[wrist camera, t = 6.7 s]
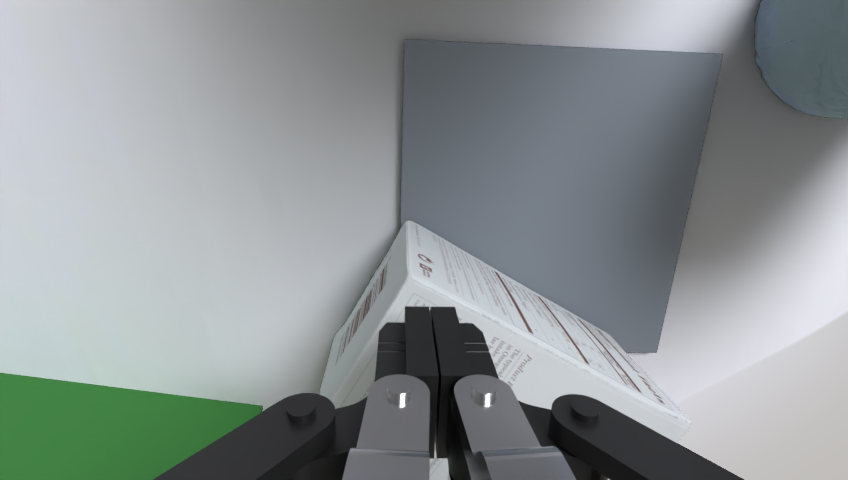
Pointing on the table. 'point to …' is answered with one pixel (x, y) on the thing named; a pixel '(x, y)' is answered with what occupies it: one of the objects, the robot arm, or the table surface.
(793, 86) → the blue-grey plant pot
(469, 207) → the mat
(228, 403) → the hardback book
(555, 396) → the supplement box
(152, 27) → the table surface
